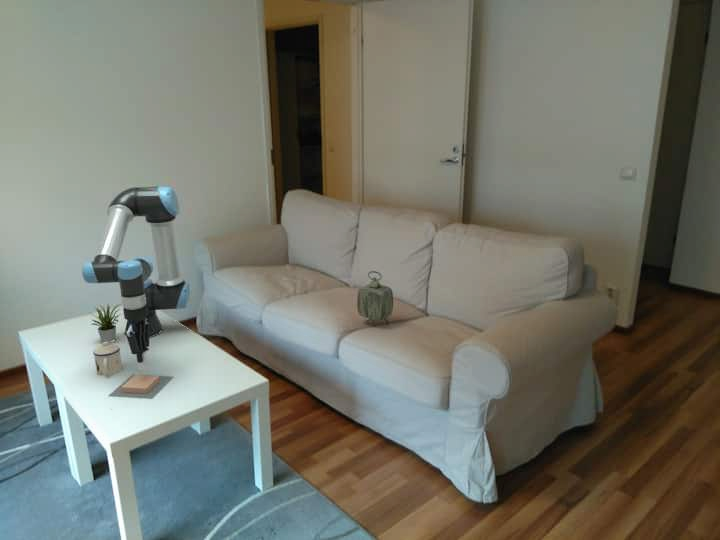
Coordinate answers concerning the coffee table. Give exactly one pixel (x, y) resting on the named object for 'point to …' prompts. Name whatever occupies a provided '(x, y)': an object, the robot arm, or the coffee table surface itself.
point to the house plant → (106, 324)
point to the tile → (140, 384)
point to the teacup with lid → (107, 359)
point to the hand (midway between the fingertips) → (143, 369)
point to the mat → (150, 395)
